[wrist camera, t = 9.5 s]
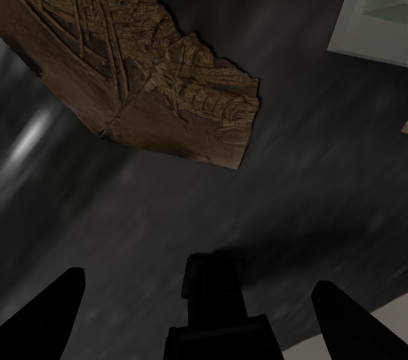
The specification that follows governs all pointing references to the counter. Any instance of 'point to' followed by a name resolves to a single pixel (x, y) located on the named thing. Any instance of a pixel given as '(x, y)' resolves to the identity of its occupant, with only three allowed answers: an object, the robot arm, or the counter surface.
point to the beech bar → (405, 128)
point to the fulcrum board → (373, 31)
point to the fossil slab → (135, 76)
